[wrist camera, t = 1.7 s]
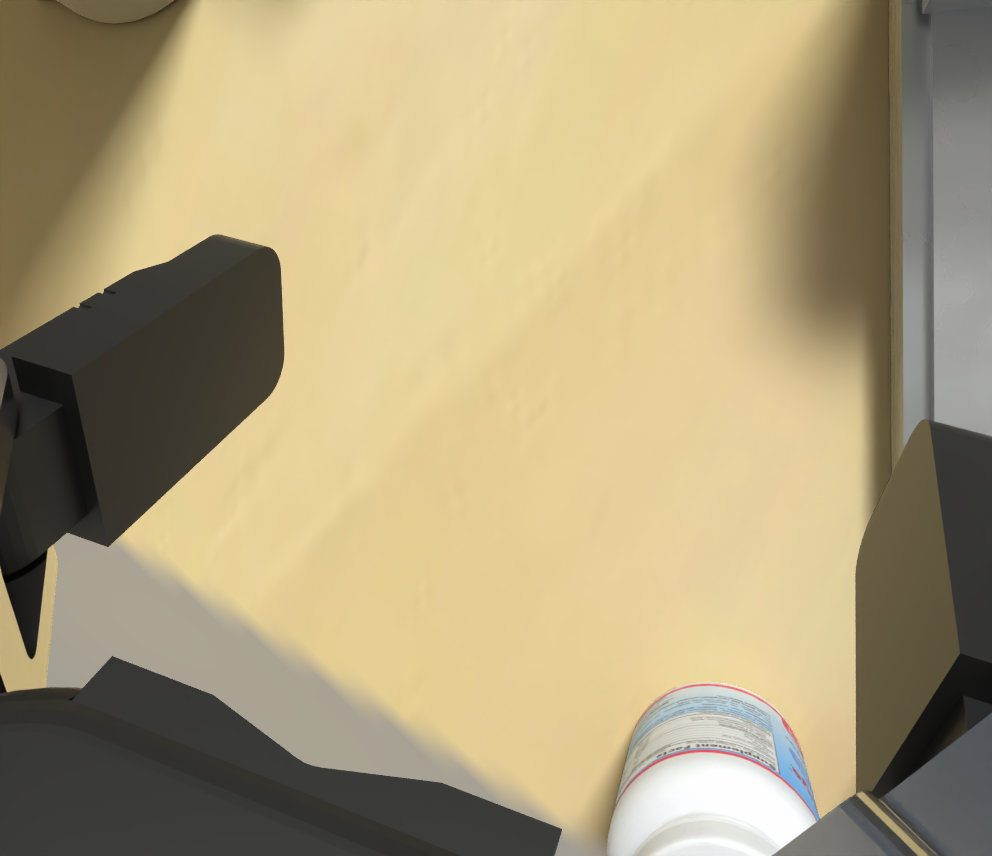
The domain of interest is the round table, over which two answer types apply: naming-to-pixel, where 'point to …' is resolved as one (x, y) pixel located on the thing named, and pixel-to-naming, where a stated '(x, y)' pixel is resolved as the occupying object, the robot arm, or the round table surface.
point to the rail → (940, 219)
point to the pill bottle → (711, 778)
